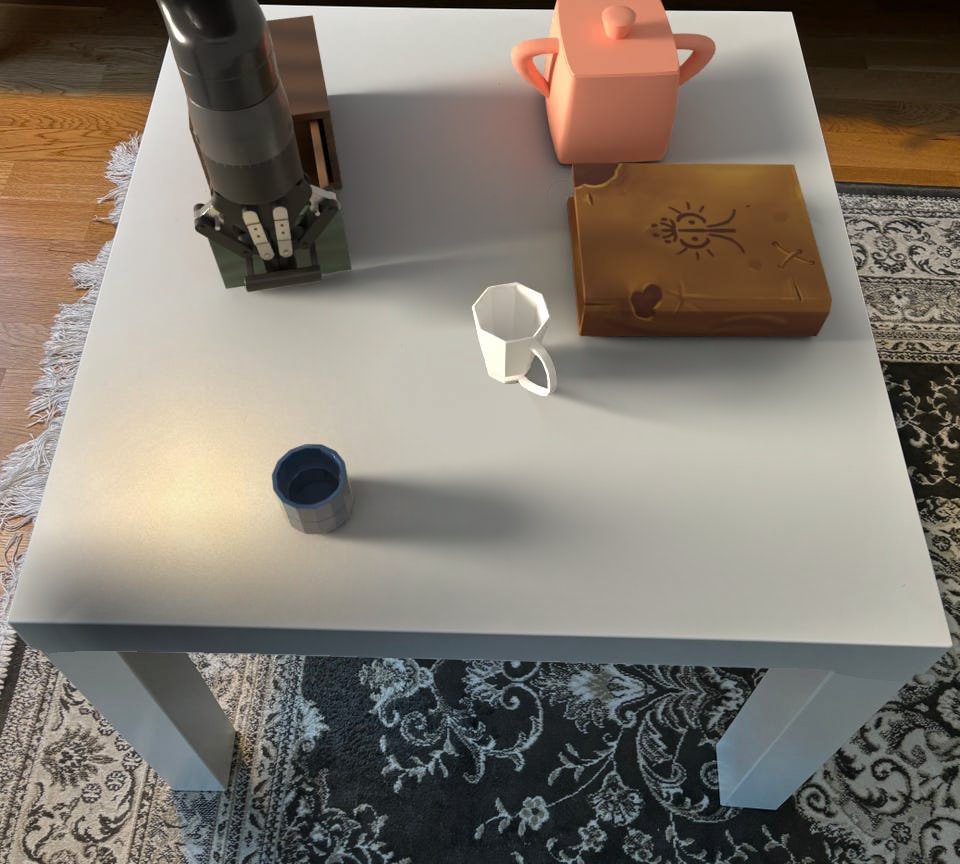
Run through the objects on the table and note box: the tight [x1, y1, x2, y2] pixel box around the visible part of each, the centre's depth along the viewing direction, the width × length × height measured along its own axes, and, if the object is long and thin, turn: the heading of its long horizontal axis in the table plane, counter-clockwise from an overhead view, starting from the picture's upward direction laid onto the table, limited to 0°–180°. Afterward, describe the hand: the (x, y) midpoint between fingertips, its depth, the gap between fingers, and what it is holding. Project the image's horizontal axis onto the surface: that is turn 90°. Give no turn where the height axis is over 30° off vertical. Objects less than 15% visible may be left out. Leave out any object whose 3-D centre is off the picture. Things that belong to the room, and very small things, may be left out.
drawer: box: [207, 119, 352, 293], centre depth 88 cm, size 20×13×8 cm, turn 12°
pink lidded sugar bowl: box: [510, 0, 717, 165], centre depth 98 cm, size 20×22×14 cm
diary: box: [566, 162, 833, 337], centre depth 89 cm, size 23×19×6 cm
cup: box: [471, 281, 558, 397], centre depth 81 cm, size 7×10×8 cm
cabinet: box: [187, 14, 344, 192], centre depth 96 cm, size 16×14×10 cm
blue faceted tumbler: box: [271, 443, 354, 535], centre depth 75 cm, size 6×6×6 cm
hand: (284, 276), depth 85 cm, fingers closed
